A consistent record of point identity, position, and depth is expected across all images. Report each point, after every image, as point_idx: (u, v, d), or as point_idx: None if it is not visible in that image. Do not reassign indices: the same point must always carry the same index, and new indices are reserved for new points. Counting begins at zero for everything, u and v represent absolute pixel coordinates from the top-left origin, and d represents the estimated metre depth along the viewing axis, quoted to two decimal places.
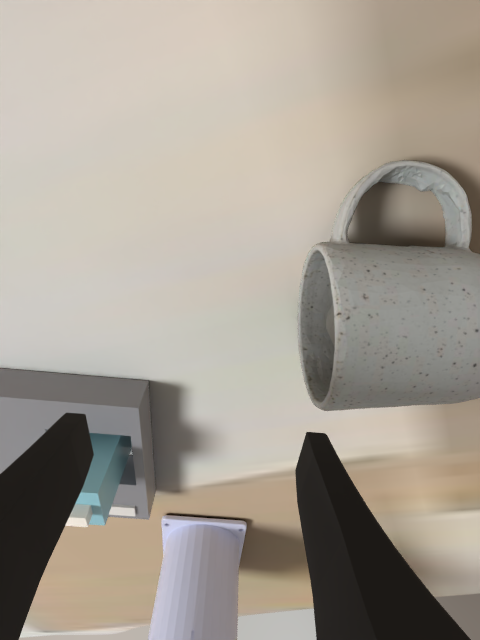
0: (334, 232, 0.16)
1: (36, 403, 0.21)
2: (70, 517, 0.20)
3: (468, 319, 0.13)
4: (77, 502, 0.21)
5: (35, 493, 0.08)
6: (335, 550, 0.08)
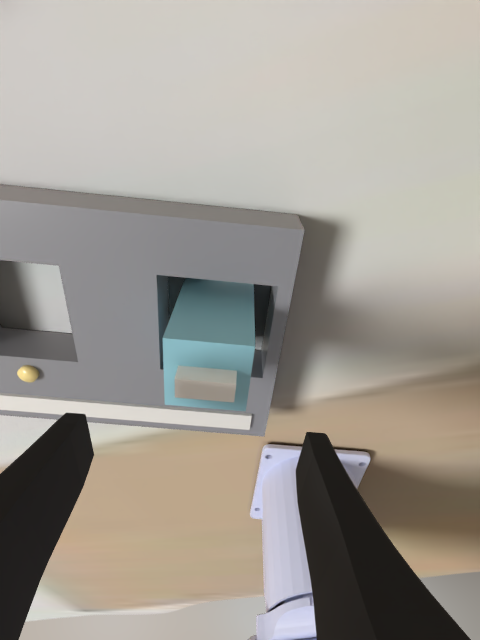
0: None
1: (154, 223, 0.14)
2: (213, 382, 0.13)
3: None
4: (218, 365, 0.14)
5: (35, 493, 0.08)
6: (335, 550, 0.08)
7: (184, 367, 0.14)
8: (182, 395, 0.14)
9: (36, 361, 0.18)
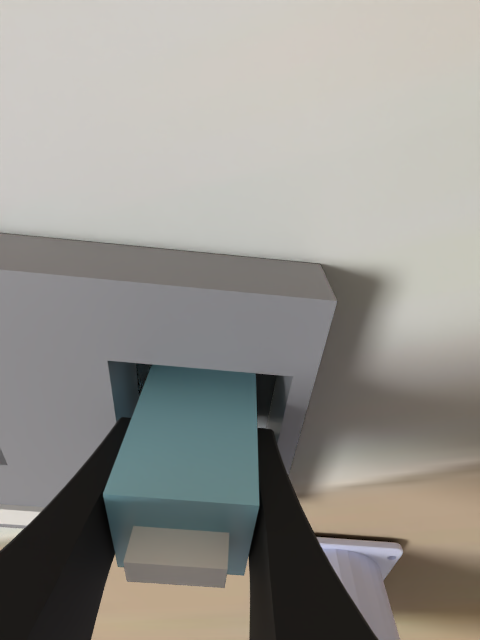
0: None
1: (97, 290, 0.09)
2: (189, 566, 0.08)
3: None
4: (198, 526, 0.08)
5: None
6: (262, 545, 0.08)
7: (143, 527, 0.09)
8: (139, 579, 0.08)
9: None
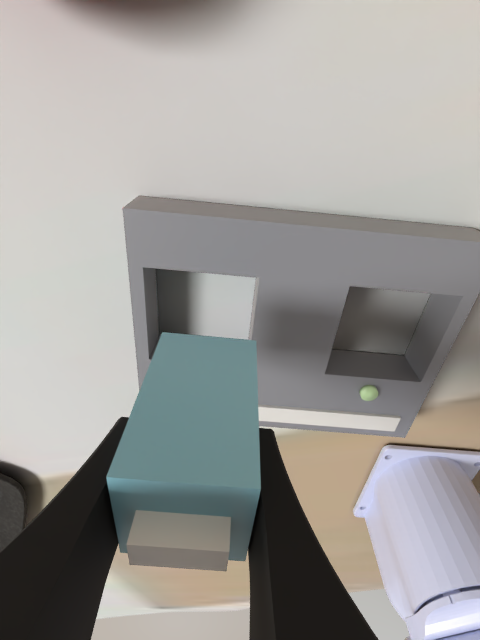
0: None
1: (363, 238, 0.15)
2: (191, 549, 0.08)
3: None
4: (200, 511, 0.09)
5: (105, 498, 0.08)
6: (262, 545, 0.08)
7: (145, 511, 0.09)
8: (142, 562, 0.08)
9: None
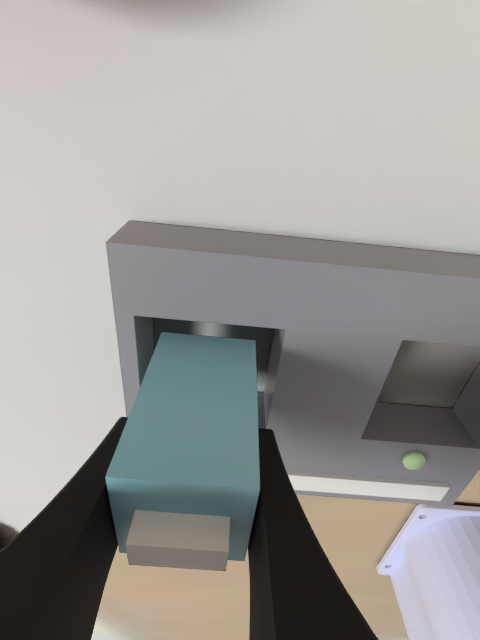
0: None
1: (426, 283, 0.11)
2: (190, 549, 0.08)
3: None
4: (200, 510, 0.09)
5: (106, 498, 0.08)
6: (262, 545, 0.08)
7: (145, 512, 0.09)
8: (141, 562, 0.08)
9: None
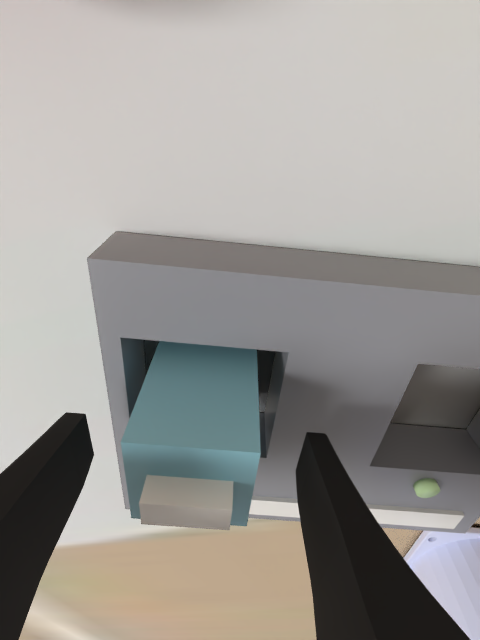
0: None
1: (447, 303, 0.10)
2: (197, 508, 0.09)
3: None
4: (205, 475, 0.09)
5: (35, 493, 0.08)
6: (335, 550, 0.08)
7: (156, 477, 0.09)
8: (152, 522, 0.09)
9: None
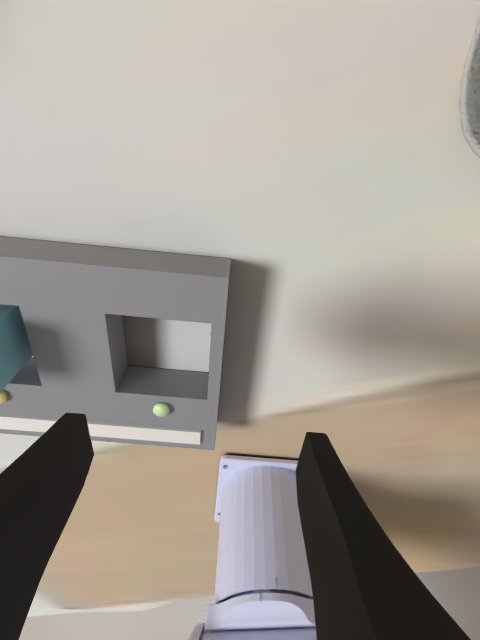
0: None
1: (99, 272, 0.17)
2: None
3: None
4: None
5: (35, 493, 0.08)
6: (335, 550, 0.08)
7: None
8: None
9: None
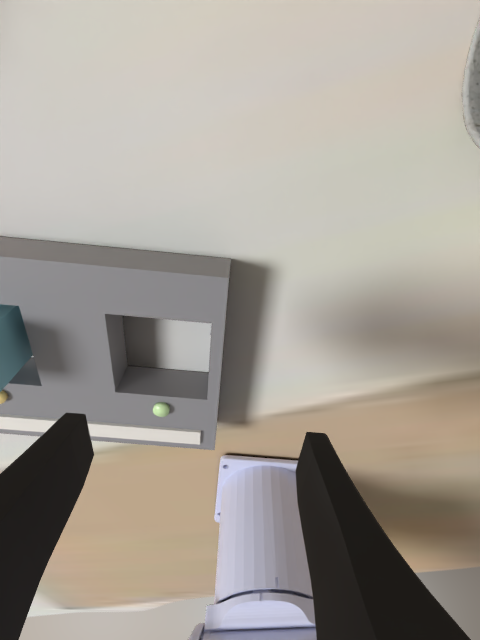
0: None
1: (98, 272, 0.17)
2: None
3: None
4: None
5: (35, 493, 0.08)
6: (335, 550, 0.08)
7: None
8: None
9: None
